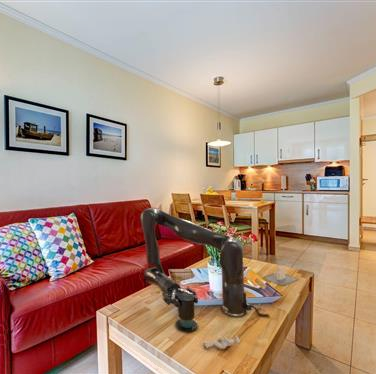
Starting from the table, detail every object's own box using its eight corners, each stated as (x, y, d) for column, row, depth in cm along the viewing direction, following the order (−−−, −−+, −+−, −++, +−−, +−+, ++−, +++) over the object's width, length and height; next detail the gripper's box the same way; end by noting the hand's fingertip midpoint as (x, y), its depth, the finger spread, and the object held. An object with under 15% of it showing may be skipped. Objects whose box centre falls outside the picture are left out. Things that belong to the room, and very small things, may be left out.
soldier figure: (203, 343, 88) (231, 330, 89) (210, 358, 85) (239, 344, 86) (204, 339, 82) (234, 326, 83) (211, 355, 79) (242, 341, 80)
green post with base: (193, 319, 102) (192, 292, 101) (199, 331, 93) (198, 302, 93) (174, 320, 101) (173, 293, 101) (179, 333, 93) (178, 303, 92)
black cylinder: (191, 310, 101) (191, 292, 100) (196, 319, 94) (195, 300, 94) (176, 311, 100) (176, 293, 100) (180, 320, 94) (179, 301, 93)
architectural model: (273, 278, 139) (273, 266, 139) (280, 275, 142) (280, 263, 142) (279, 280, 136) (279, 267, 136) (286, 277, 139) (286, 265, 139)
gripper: (155, 282, 108) (172, 298, 93) (181, 276, 113) (202, 290, 98) (155, 298, 108) (173, 316, 93) (182, 291, 113) (203, 308, 98)
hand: (188, 303), depth 95 cm, fingers open, 8 cm apart
